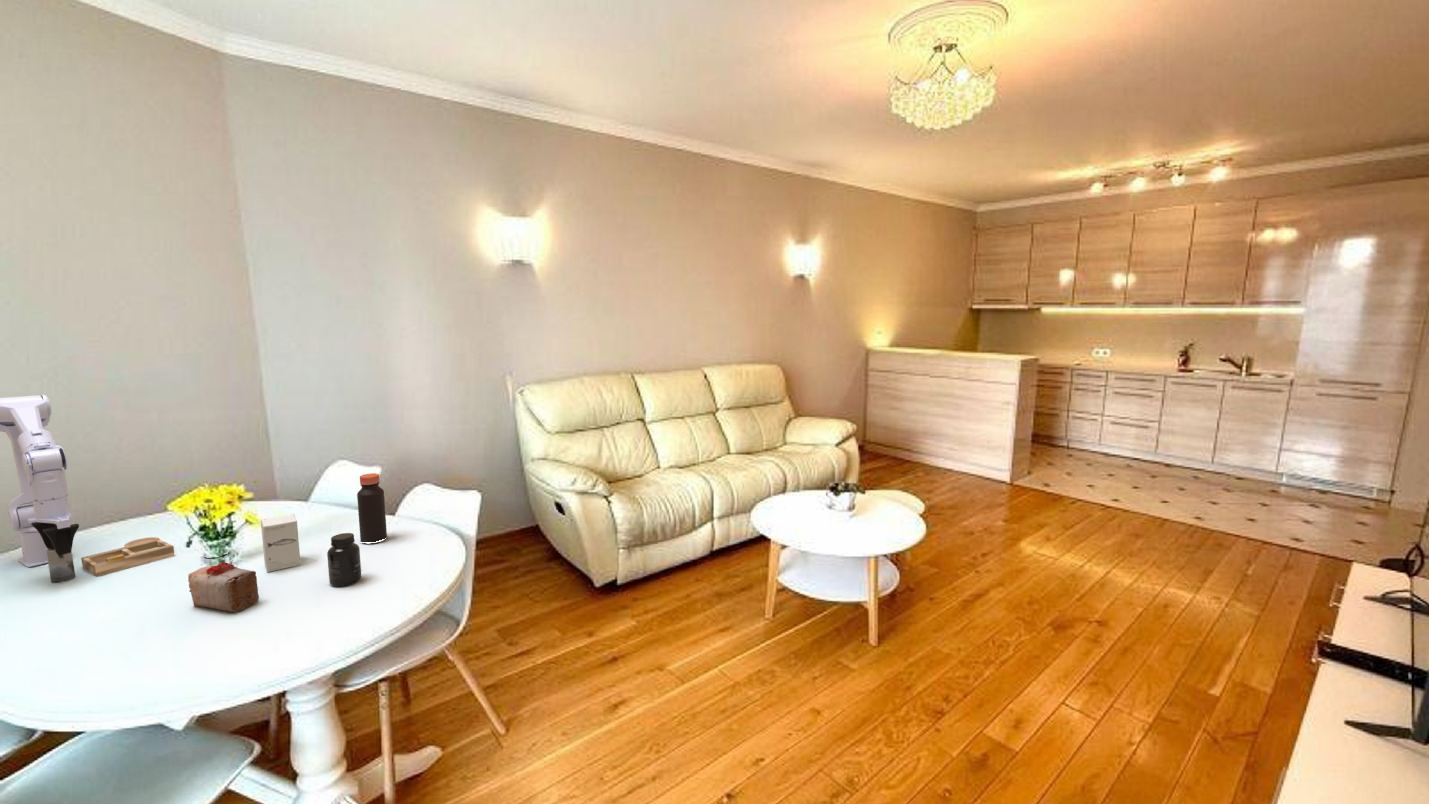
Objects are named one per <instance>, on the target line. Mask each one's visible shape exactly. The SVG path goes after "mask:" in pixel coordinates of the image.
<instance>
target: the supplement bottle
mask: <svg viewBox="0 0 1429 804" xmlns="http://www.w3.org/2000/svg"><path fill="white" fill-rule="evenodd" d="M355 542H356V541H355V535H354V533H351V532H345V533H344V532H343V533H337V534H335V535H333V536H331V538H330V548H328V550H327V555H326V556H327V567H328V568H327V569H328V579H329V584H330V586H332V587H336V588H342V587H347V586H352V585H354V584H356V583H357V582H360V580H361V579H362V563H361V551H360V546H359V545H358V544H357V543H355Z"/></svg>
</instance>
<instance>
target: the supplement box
mask: <svg viewBox="0 0 1429 804" xmlns="http://www.w3.org/2000/svg"><path fill="white" fill-rule="evenodd" d="M260 528H261V537H262V549H263V558H264V559H263V560H264V565H265V570H266V573H270V572H273V571H274V572H275V571H278V570H283V569H288V568H293V567H297V566H298V567H299V566H301V565H302V564H301V552H300V542H299V532H298V531H299V530H298V520H297V518H296V514H295V513H293V514H287V515H281V516H275V517H267V518H262V519H260Z"/></svg>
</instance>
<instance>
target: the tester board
mask: <svg viewBox="0 0 1429 804" xmlns="http://www.w3.org/2000/svg"><path fill="white" fill-rule="evenodd" d="M174 548H175V547H174V545H172V544H170V543H168V542H166V541H164V540H162V539H160V538H159V539H155V540H151V541H147V542H143V543H139V544H135V545H131V546H126V547H124V546H123V547H120V548H115V549H111V550H107V551H103V552H99V553H95V554H91V555H86V556H82V557H81V567H82V569H84V570H85V571H87V572H88V573H90V574H91V575H93V576H95V577H96V578H98V577H101V576H105V575H109V574H112V573H116V572H120V571H122V570H126V569H130V568H135V567H138V566H141V565H145V564H149V563H153V562H156V561H160V560H163V559H168V558H171V557H174V556H175V550H174Z"/></svg>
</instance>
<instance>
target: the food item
mask: <svg viewBox="0 0 1429 804" xmlns="http://www.w3.org/2000/svg"><path fill="white" fill-rule="evenodd" d="M233 561H234V560H233V559H232V560H231V561H230V562H229V563H228V562H225V561H223V562H221V563H218V564H217V565H207V566H204V567H200V568H198V569H196V570H194V571H193V572H190V573H188V574H187V575H188V576H187V577H188V579H187V580H188V587H189V588H188V589H190V590H189V593H190V594H191V598H192V599H191V600H192V604H193V606H194V607H202V608H208V609H209V608H211V609H214V610H215V609H216V610H219V611H226V612H230V613H239V612H240V611H243V610H245V609H247V608H248V607H250V606H254V605H255V604H257V603H258V602H259V599H260V594H259V587H258V579H257V572H256V571H254V570H249V569H245V568H240V567H238V566H235V565H234V564H233Z"/></svg>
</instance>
